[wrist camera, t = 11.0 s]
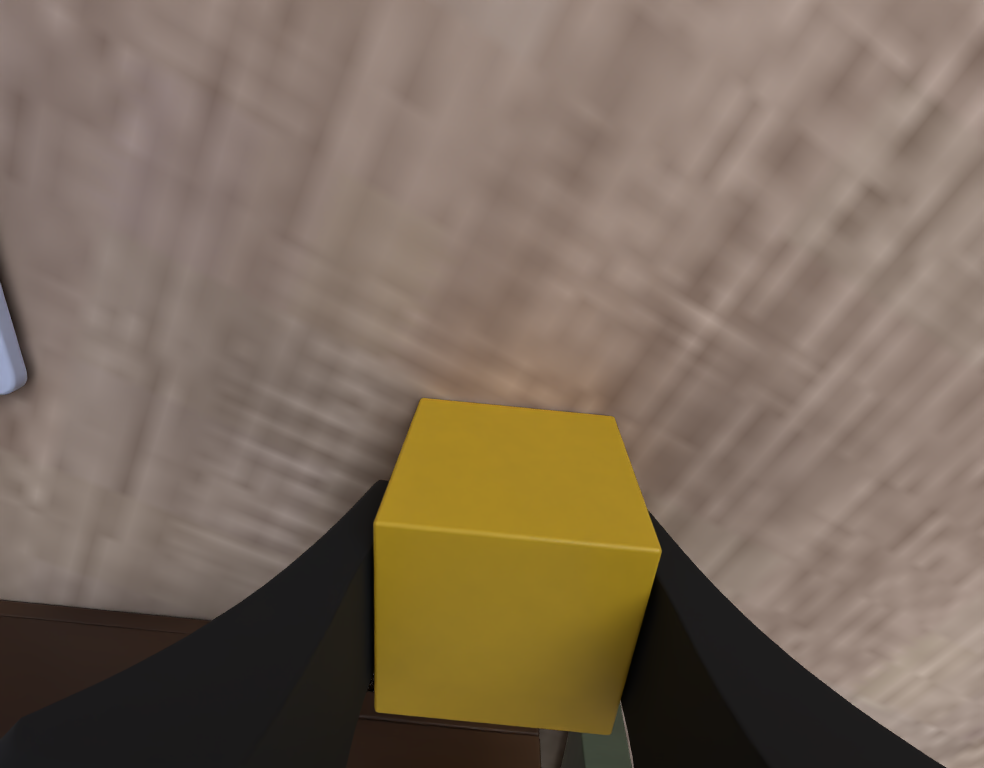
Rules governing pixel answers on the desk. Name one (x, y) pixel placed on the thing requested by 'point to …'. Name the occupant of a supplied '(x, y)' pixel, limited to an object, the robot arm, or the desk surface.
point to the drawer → (472, 744)
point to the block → (510, 568)
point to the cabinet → (72, 651)
